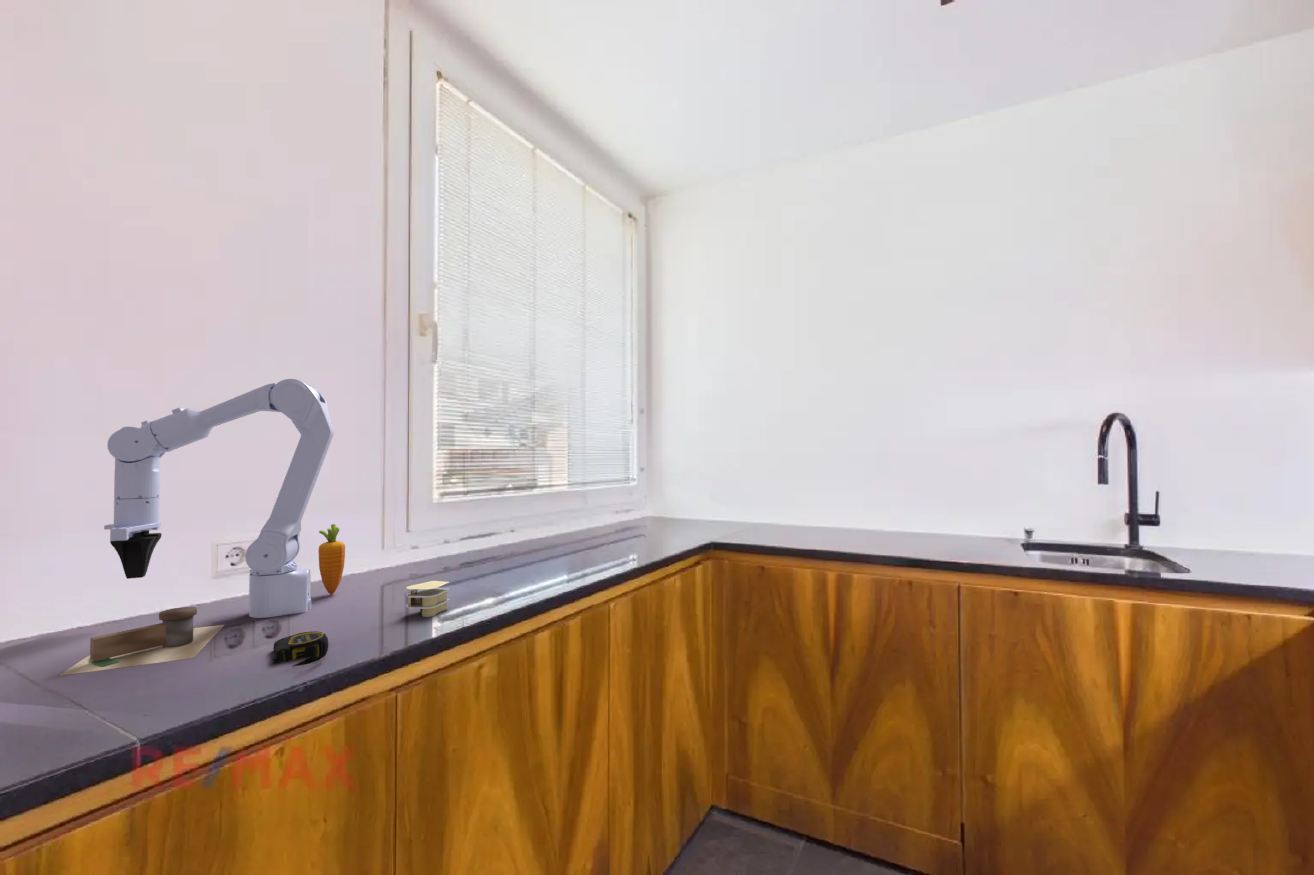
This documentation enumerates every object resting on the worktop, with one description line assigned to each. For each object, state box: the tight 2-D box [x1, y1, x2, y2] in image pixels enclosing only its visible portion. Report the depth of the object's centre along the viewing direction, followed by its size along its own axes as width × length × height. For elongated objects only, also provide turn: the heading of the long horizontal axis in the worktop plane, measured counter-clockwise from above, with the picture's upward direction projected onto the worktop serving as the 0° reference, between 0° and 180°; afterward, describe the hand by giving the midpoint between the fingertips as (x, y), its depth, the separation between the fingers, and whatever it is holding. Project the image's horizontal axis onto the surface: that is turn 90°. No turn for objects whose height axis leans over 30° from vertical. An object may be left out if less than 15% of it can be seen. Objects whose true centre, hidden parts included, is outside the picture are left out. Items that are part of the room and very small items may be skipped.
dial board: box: [58, 624, 225, 677], centre depth 84 cm, size 14×17×2 cm
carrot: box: [318, 523, 346, 596], centre depth 120 cm, size 5×5×15 cm
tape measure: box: [272, 630, 329, 667], centre depth 82 cm, size 7×7×4 cm
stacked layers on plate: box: [405, 580, 450, 618], centre depth 106 cm, size 10×9×6 cm
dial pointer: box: [89, 606, 198, 662], centre depth 82 cm, size 12×4×5 cm, turn 149°
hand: (135, 577), depth 95 cm, fingers closed
